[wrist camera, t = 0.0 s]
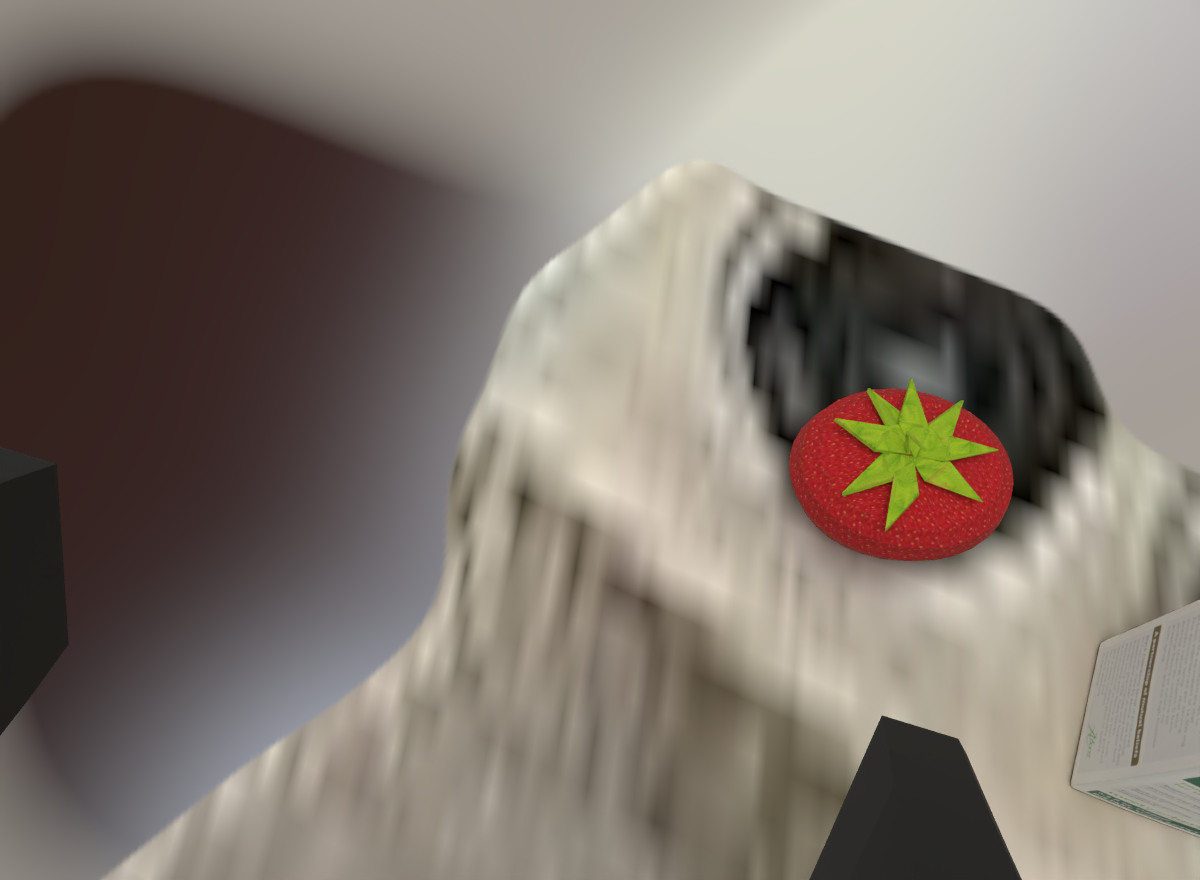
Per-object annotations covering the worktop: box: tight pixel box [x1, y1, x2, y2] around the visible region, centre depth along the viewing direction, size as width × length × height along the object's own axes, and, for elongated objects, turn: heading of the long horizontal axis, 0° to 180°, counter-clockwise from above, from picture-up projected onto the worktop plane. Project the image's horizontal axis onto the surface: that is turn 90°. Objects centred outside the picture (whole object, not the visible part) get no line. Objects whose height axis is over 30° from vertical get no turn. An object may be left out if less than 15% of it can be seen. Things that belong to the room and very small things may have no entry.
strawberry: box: [790, 378, 1013, 561], centre depth 39 cm, size 6×8×10 cm
